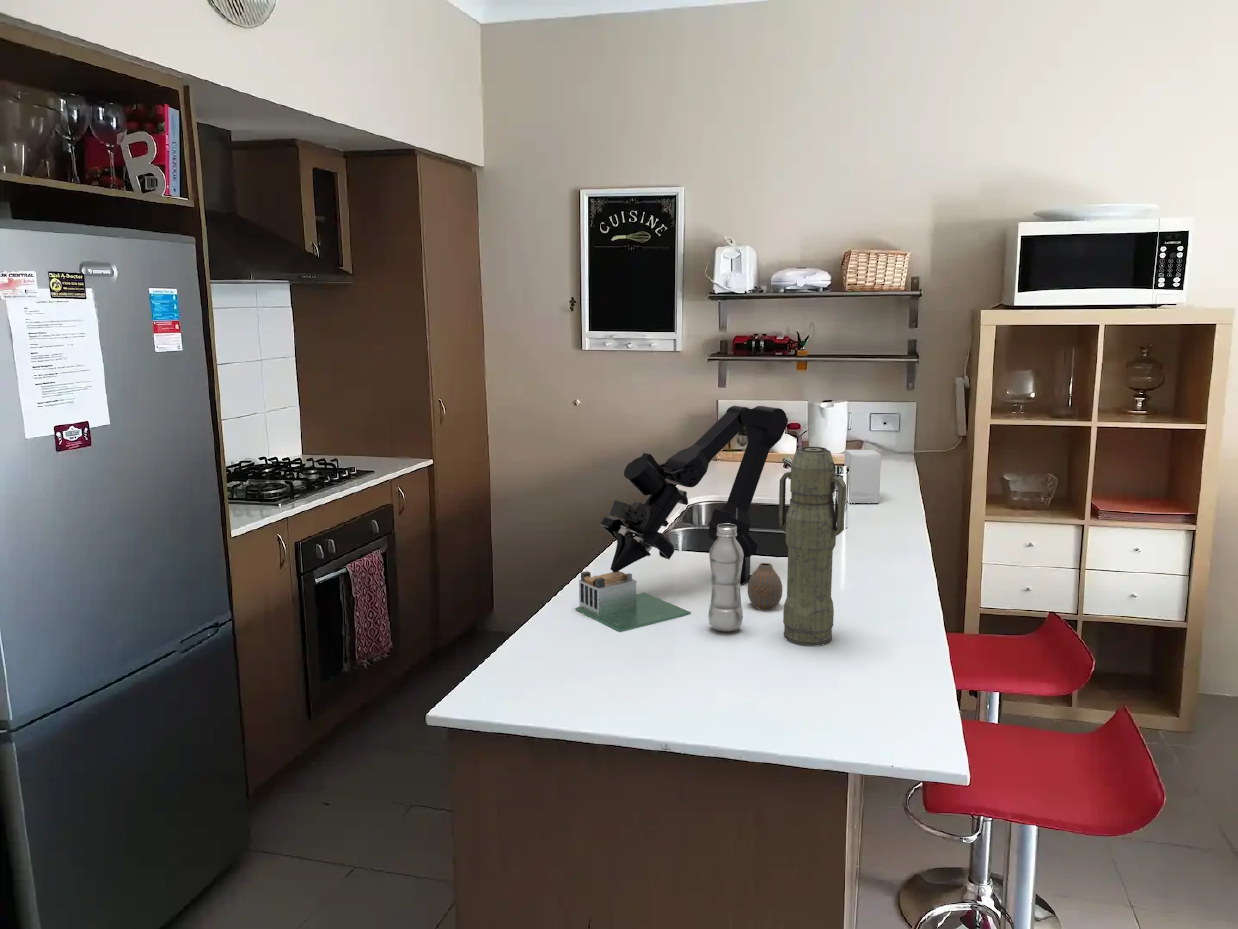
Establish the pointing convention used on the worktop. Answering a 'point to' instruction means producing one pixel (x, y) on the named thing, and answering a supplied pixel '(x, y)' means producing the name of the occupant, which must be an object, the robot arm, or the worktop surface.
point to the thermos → (810, 544)
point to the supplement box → (863, 475)
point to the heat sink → (623, 604)
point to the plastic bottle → (726, 580)
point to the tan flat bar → (606, 577)
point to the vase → (765, 587)
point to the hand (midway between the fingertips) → (612, 570)
